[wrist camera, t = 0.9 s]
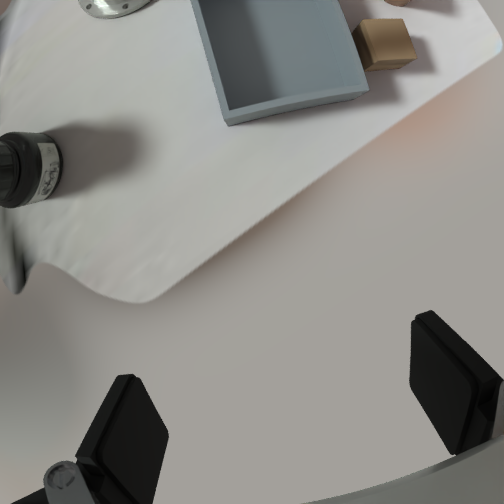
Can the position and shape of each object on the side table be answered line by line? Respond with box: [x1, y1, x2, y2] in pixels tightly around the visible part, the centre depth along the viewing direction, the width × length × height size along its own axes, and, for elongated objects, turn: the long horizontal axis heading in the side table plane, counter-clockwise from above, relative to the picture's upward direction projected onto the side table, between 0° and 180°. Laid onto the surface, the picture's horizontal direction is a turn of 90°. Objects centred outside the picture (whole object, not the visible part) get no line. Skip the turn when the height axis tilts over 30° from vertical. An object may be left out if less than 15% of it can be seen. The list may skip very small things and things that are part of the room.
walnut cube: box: [351, 19, 417, 72], centre depth 28 cm, size 5×5×5 cm
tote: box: [191, 0, 369, 126], centre depth 28 cm, size 17×14×6 cm
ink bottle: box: [0, 132, 63, 208], centre depth 28 cm, size 10×9×12 cm
